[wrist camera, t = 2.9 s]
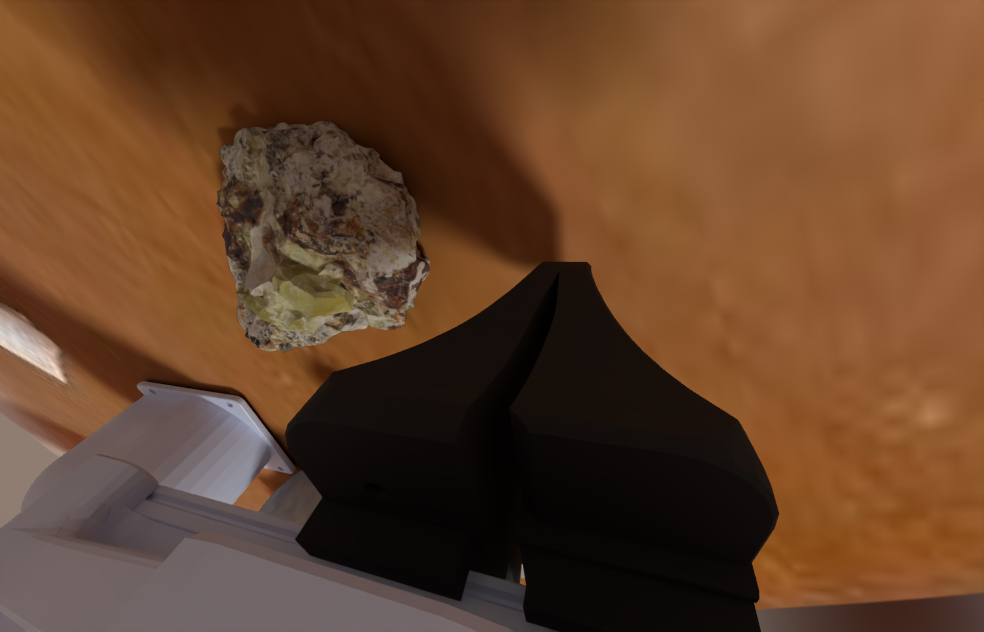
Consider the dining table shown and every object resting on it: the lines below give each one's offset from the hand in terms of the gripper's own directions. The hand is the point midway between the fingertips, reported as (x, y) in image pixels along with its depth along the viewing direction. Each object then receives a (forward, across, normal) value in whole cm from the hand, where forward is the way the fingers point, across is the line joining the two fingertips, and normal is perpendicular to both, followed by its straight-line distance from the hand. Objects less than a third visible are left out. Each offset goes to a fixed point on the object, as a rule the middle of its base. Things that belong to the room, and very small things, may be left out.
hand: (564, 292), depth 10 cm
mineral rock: (+2, +9, -1) cm, 10 cm away
